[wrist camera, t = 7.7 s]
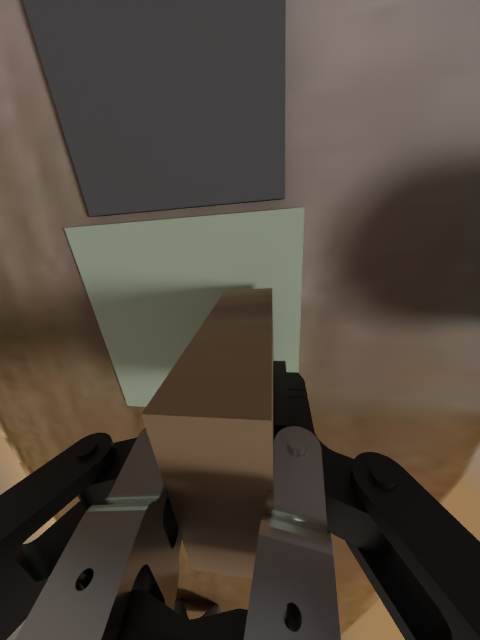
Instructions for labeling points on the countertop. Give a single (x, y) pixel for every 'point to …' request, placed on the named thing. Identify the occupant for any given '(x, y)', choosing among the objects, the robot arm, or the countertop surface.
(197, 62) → the coaster
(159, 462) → the slab
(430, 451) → the countertop surface
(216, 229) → the board
